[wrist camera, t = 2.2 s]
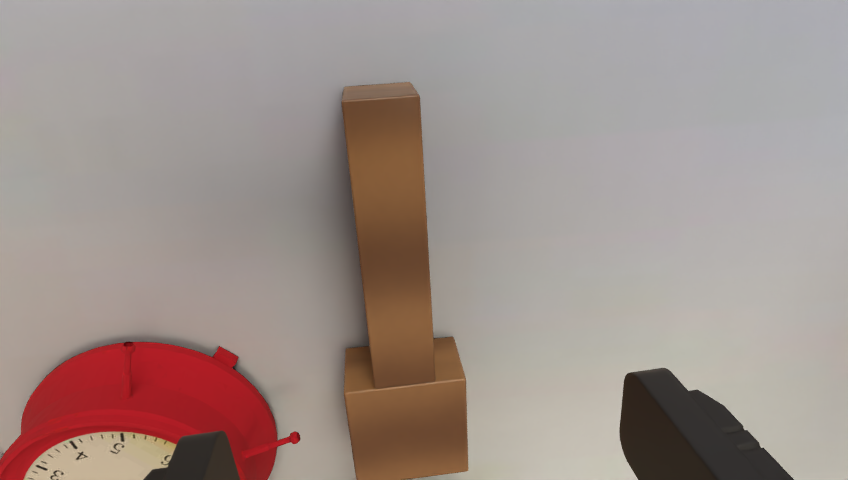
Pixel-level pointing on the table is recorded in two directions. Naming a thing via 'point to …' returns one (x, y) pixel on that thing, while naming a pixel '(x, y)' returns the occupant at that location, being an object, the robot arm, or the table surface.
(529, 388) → the table surface
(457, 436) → the wooden stamp
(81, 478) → the alarm clock
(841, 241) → the table surface
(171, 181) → the table surface
